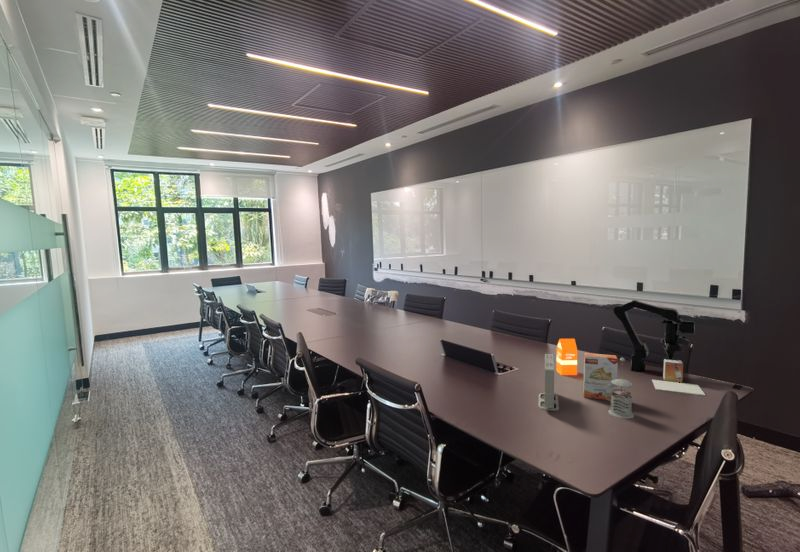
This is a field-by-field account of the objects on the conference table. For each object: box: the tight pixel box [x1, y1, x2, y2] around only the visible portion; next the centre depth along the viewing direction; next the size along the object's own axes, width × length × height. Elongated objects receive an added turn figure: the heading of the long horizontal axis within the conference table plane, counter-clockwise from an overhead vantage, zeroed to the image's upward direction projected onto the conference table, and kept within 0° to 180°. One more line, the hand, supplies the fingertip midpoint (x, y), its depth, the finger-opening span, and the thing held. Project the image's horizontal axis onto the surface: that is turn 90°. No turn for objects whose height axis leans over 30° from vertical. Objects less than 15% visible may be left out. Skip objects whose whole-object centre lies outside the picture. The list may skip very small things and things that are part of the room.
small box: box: [662, 358, 684, 383], centre depth 208 cm, size 8×6×10 cm
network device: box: [537, 353, 560, 411], centre depth 183 cm, size 26×9×20 cm, turn 160°
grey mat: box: [651, 379, 706, 397], centre depth 198 cm, size 20×14×1 cm
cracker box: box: [582, 352, 619, 401], centre depth 187 cm, size 14×6×21 cm, turn 68°
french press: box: [604, 357, 635, 420], centre depth 170 cm, size 10×12×25 cm
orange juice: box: [555, 338, 578, 376], centre depth 223 cm, size 8×9×20 cm
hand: (670, 359), depth 215 cm, fingers closed
